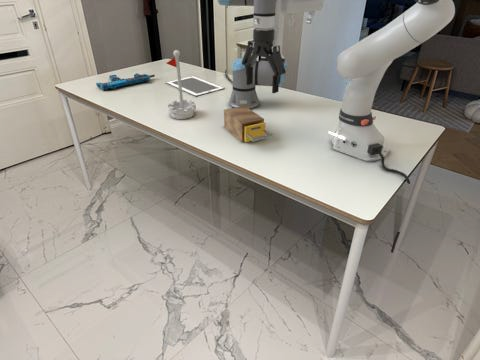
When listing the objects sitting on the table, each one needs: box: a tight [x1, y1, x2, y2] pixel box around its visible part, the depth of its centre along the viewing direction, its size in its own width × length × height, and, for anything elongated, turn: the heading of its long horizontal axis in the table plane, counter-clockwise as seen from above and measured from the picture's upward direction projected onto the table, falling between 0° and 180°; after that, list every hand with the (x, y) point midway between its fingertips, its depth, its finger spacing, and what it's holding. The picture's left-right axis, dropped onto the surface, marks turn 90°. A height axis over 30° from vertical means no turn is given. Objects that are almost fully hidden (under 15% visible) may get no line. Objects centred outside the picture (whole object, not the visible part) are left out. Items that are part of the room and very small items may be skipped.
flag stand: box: [165, 49, 197, 120], centre depth 157 cm, size 13×13×30 cm
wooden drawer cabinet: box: [223, 106, 265, 143], centre depth 147 cm, size 17×10×8 cm, turn 28°
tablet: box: [165, 75, 225, 97], centre depth 203 cm, size 32×20×1 cm, turn 41°
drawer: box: [244, 121, 274, 143], centre depth 142 cm, size 22×9×6 cm, turn 28°
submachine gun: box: [95, 73, 156, 91], centre depth 209 cm, size 34×4×25 cm
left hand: (262, 88), depth 131 cm, fingers open, 13 cm apart
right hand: (300, 24), depth 134 cm, fingers open, 8 cm apart
